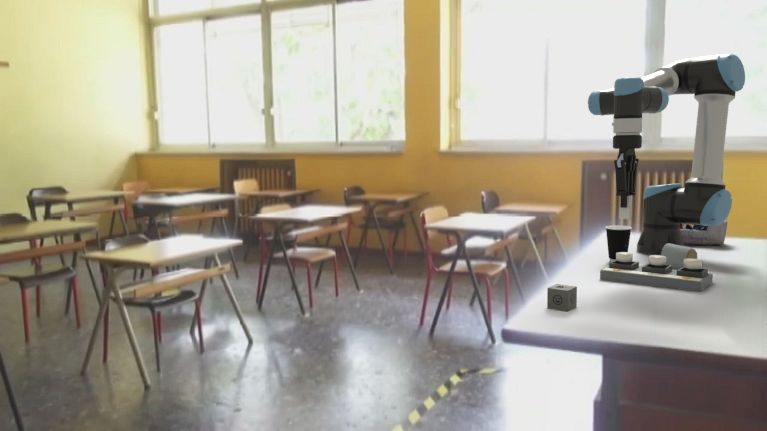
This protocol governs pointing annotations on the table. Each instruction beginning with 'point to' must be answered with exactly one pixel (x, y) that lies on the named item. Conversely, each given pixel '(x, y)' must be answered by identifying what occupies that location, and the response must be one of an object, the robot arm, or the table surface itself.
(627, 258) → the button
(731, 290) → the table surface
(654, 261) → the middle button
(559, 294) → the dice cube
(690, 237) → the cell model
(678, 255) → the ceramic mug
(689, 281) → the button board
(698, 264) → the button
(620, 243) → the dixie cup
